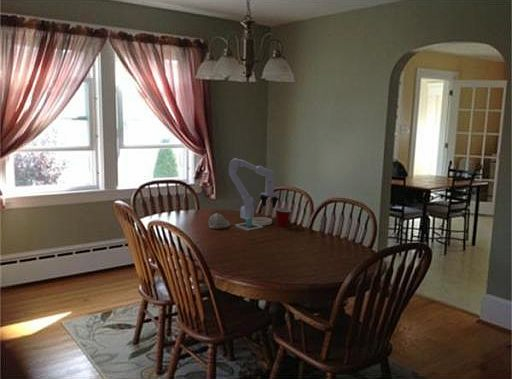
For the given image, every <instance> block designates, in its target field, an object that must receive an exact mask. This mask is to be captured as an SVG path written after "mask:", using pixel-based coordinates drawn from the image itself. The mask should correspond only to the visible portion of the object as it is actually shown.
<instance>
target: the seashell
mask: <svg viewBox="0 0 512 379" xmlns="http://www.w3.org/2000/svg"><path fill="white" fill-rule="evenodd" d="M207 224H208V227H209V228H210V229H211V228H212V229H214V230H216V229H218V230H219V229H226V228H230V226H231V224H230V222H229V220H228V219H226V218H225V217H224V216H223V215H222V214H220V213H219V212H216V213H214V214H212V215H211V216H209V218H208V222H207Z"/></svg>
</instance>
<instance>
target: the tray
mask: <svg viewBox="0 0 512 379" xmlns="http://www.w3.org/2000/svg"><path fill="white" fill-rule="evenodd" d="M244 225H245V226H244ZM252 226H254V227H251V228H248V227H246V222H242V223H236V224H235V223H234V228H236V229H240V230H242V231H246V232H250V231H252V230H253V231H254V230H258V229H262V228H264V225H258V224H254V223H252Z"/></svg>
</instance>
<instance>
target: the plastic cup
mask: <svg viewBox="0 0 512 379" xmlns="http://www.w3.org/2000/svg"><path fill="white" fill-rule="evenodd" d="M274 210H275V214H276V215H275V216H276V221H277V222H276V223H277V227H281V228H285V227H287V226H288V224H289V218H290V215H291V212H292V209H289V208H285V207H275V208H274Z"/></svg>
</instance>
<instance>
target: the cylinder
mask: <svg viewBox="0 0 512 379" xmlns="http://www.w3.org/2000/svg"><path fill="white" fill-rule="evenodd" d="M245 223H246V224H245V227H246V228H253V225H252V218H251V217H247V218H246V219H245Z"/></svg>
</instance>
